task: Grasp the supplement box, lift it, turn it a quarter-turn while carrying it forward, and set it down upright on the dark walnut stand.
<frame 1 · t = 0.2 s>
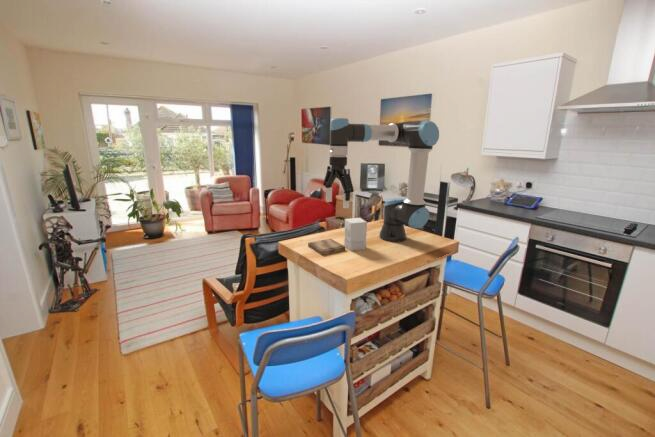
hand: (337, 204, 137), 27 cm above the counter, fingers open, 13 cm apart
supplement box: (354, 247, 163), on the counter
walnut stand: (326, 248, 161), on the counter
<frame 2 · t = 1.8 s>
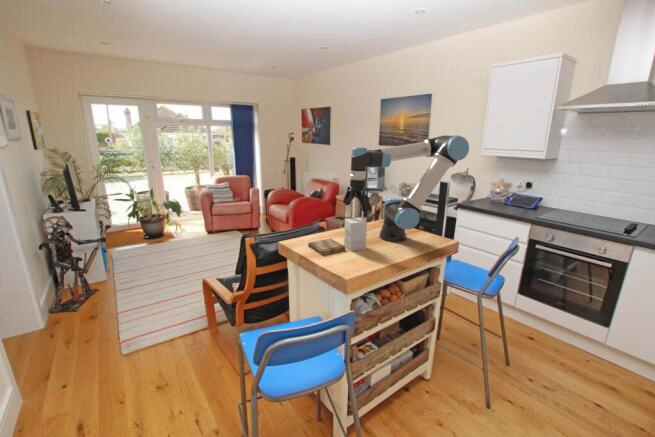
hand: (355, 220, 159), 15 cm above the counter, fingers open, 13 cm apart
nothing on the counter moved.
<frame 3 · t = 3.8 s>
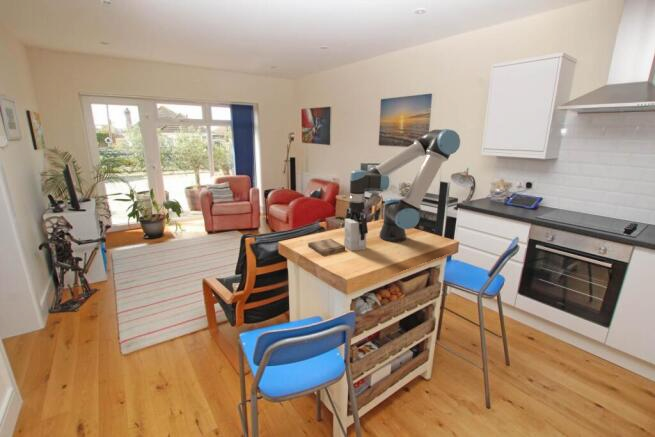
hand: (354, 242, 163), 3 cm above the counter, fingers closed on supplement box, 10 cm apart
supplement box: (354, 247, 163), on the counter, touching gripper
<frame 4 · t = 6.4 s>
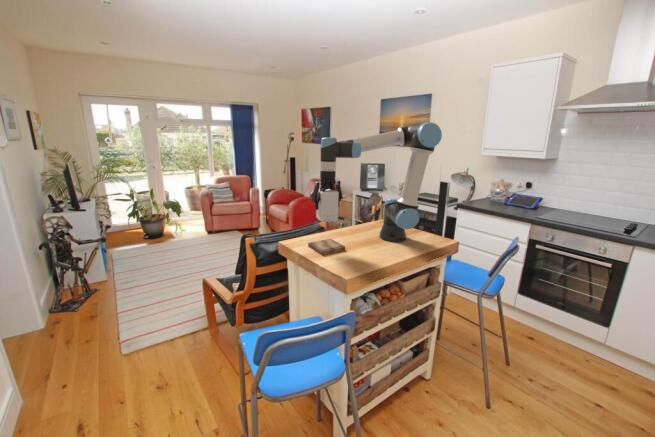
hand: (327, 214, 156), 18 cm above the counter, fingers closed on supplement box, 10 cm apart
supplement box: (326, 219, 157), point 15 cm above the counter, touching gripper
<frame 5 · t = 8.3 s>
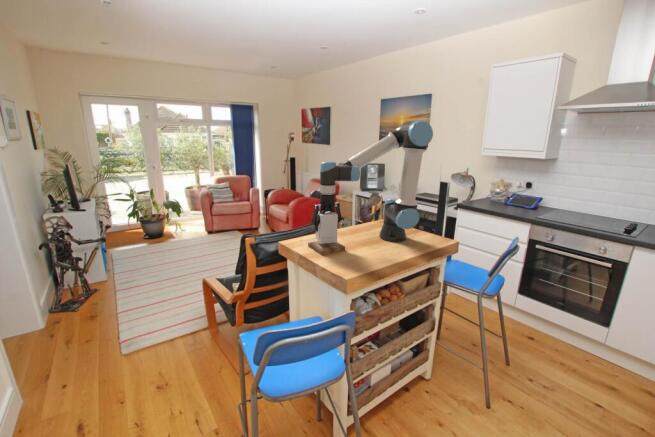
hand: (326, 235, 159), 7 cm above the counter, fingers closed on supplement box, 10 cm apart
supplement box: (326, 240, 160), point 4 cm above the counter, touching gripper
when the fingers open (6 cm above the counter, at t = 9.5 s): supplement box drops 1 cm, resting on walnut stand.
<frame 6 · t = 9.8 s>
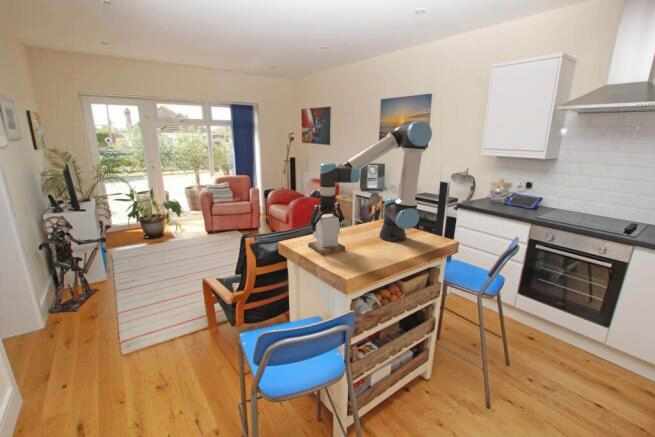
hand: (326, 235, 159), 7 cm above the counter, fingers open, 13 cm apart
supplement box: (327, 244, 161), point 2 cm above the counter, touching walnut stand
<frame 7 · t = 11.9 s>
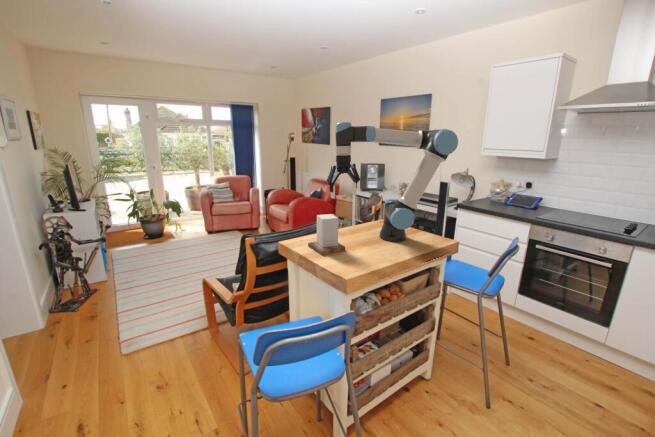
hand: (343, 196, 160), 27 cm above the counter, fingers open, 13 cm apart
nothing on the counter moved.
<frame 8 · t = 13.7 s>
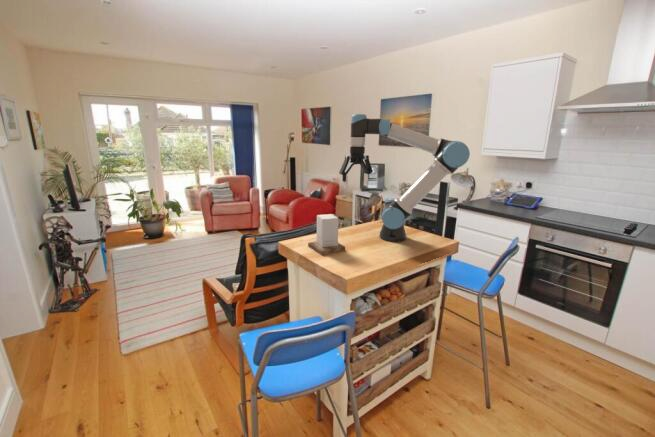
hand: (355, 186, 164), 31 cm above the counter, fingers open, 13 cm apart
nothing on the counter moved.
at the end: supplement box inside the target area on the walnut stand (0.4 cm from its centre), point 2.1 cm above the walnut stand's base; supplement box tilted 0°; the gripper is holding nothing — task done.
